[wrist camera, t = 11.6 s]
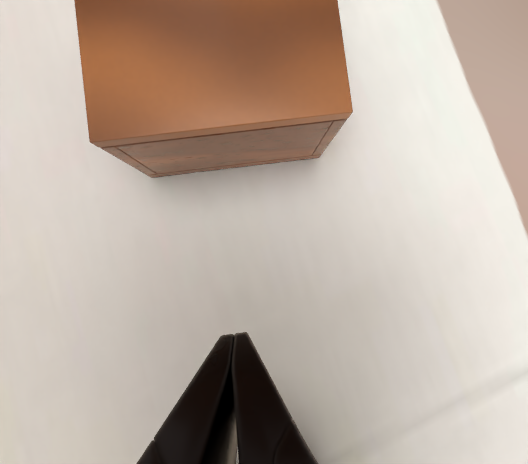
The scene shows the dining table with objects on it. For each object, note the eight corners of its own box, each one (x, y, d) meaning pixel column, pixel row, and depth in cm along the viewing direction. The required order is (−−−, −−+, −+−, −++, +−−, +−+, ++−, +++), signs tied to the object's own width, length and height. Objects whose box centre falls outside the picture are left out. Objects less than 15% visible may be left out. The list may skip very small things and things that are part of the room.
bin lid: (74, -73, 14) (63, -92, 14) (318, -97, 15) (321, -116, 14) (98, 148, 14) (89, 142, 13) (348, 118, 14) (353, 111, 14)
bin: (134, 36, 21) (76, -59, 14) (300, 18, 22) (320, -83, 15) (151, 177, 21) (99, 148, 14) (319, 157, 21) (347, 119, 14)
